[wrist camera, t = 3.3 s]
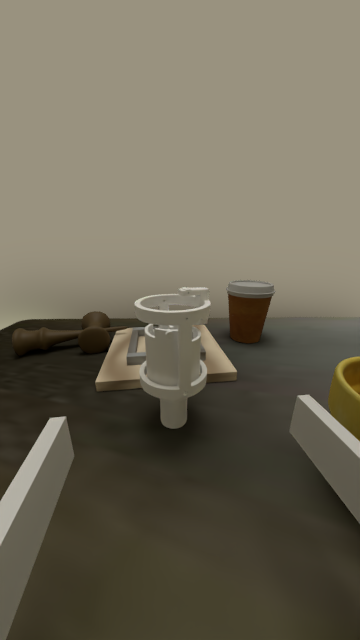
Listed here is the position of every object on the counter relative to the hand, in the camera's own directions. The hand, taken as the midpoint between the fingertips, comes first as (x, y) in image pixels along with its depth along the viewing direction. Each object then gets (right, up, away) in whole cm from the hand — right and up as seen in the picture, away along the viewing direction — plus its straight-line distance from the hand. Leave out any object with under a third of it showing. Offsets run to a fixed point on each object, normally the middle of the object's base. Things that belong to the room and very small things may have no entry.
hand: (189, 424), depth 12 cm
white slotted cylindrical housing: (-1, -6, +12) cm, 13 cm away
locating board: (-3, 0, +27) cm, 27 cm away
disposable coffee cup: (+14, +2, +34) cm, 37 cm away
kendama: (-21, 0, +30) cm, 37 cm away
